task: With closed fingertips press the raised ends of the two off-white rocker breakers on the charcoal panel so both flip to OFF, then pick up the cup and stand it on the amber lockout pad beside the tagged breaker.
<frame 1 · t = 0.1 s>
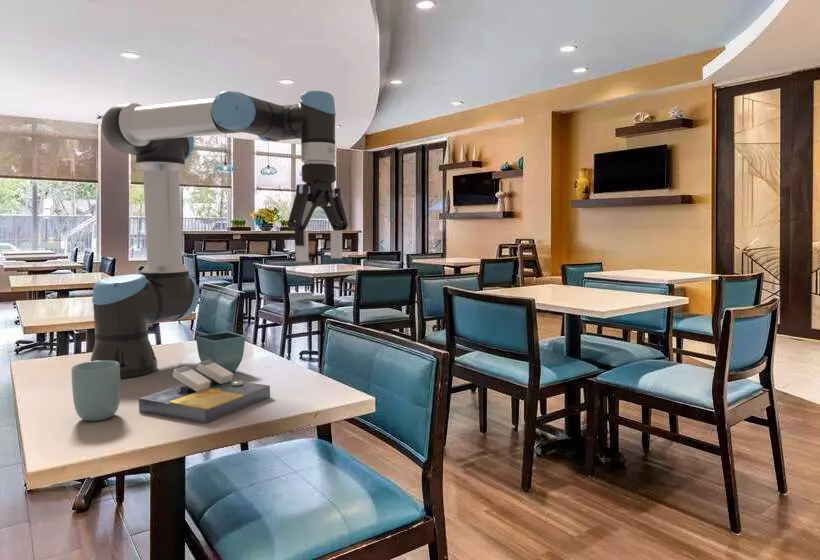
hand: (320, 259, 131), 28 cm above the table, fingers open, 13 cm apart
cup: (98, 418, 108), on the table
flower pot: (221, 372, 142), on the table
rocker 2: (191, 378, 117), point 5 cm above the table, hinge at 20.0°
rocker 1: (215, 371, 123), point 5 cm above the table, hinge at 20.0°
panel: (207, 403, 116), on the table
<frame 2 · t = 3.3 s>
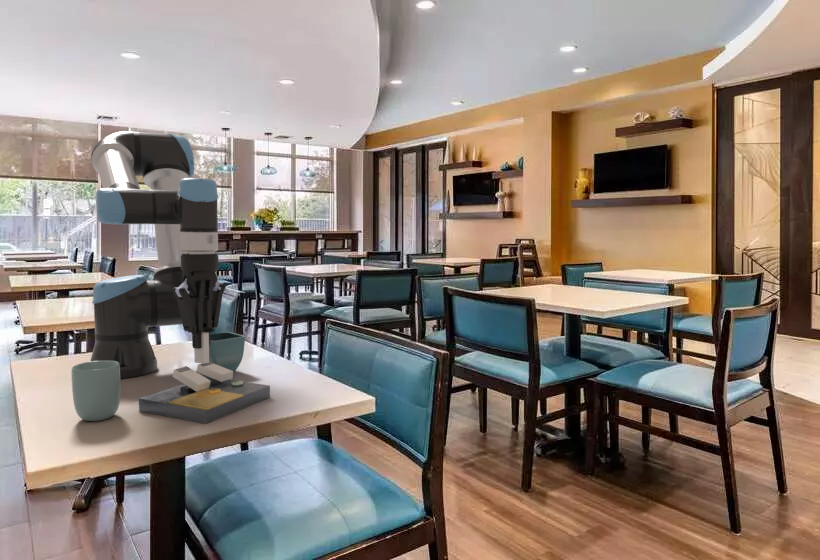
hand: (201, 362, 124), 6 cm above the table, fingers closed
rocker 1: (215, 371, 123), point 5 cm above the table, hinge at 11.1°, touching gripper
everything else where it was.
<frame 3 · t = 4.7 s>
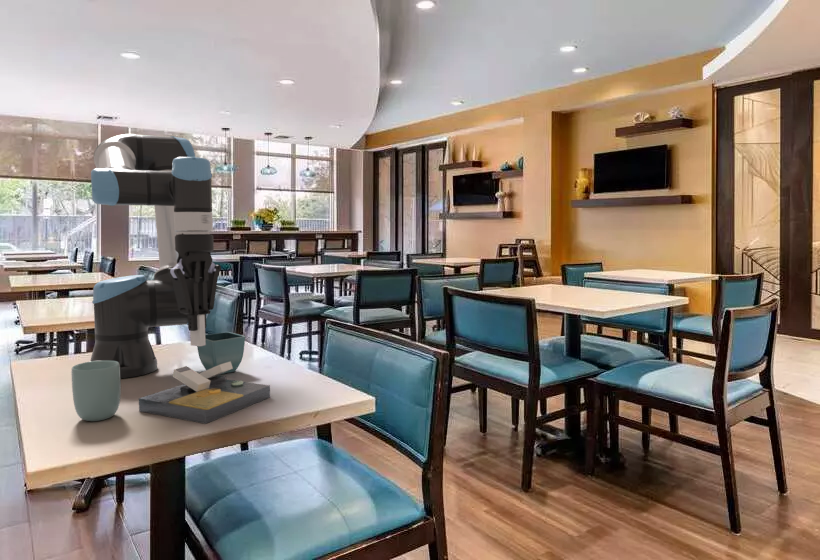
hand: (198, 345, 122), 10 cm above the table, fingers closed
rocker 1: (214, 371, 123), point 5 cm above the table, hinge at -23.6°
everything else where it was.
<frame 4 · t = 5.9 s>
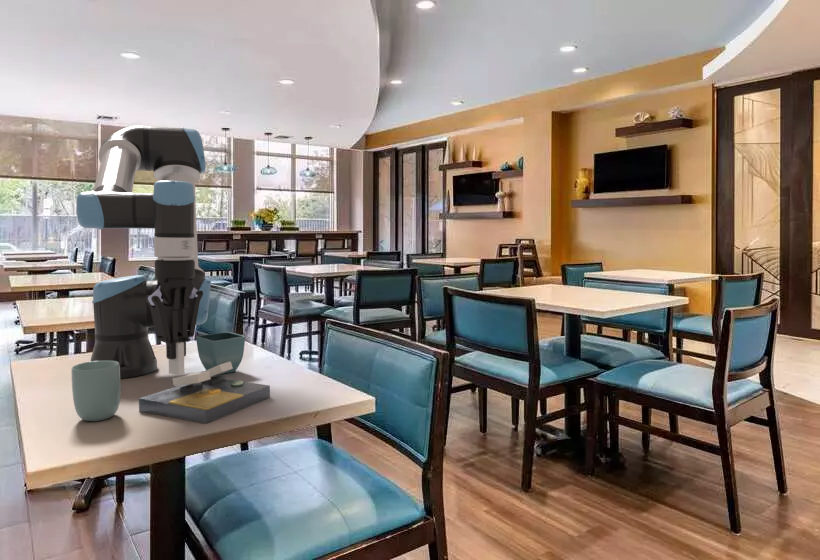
hand: (176, 373, 119), 5 cm above the table, fingers closed
rocker 2: (191, 378, 117), point 5 cm above the table, hinge at -12.8°, touching gripper
everything else where it was.
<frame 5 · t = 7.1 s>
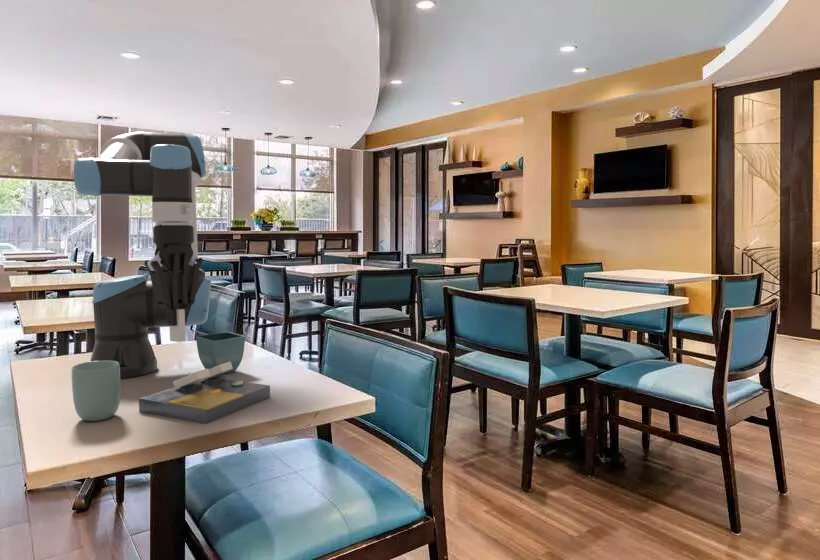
hand: (177, 340, 118), 12 cm above the table, fingers closed
rocker 2: (191, 378, 117), point 5 cm above the table, hinge at -22.9°
everything else where it was.
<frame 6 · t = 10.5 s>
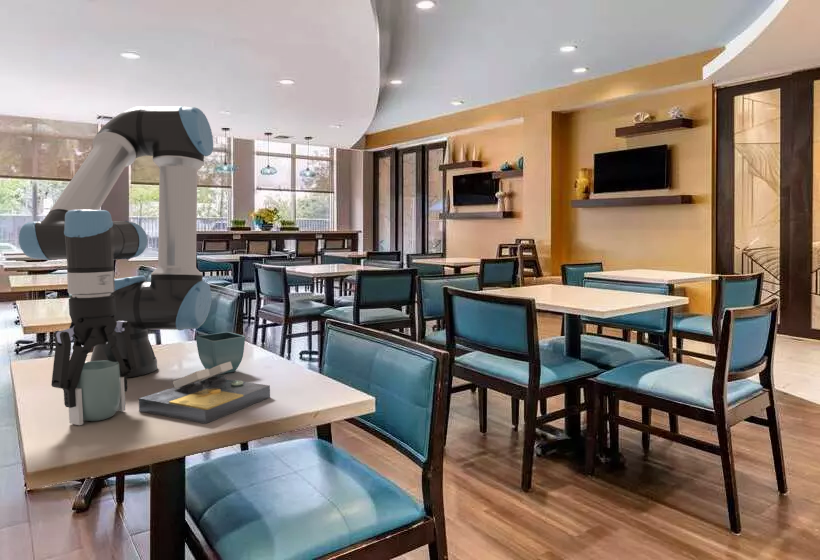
hand: (98, 416, 108), 0 cm above the table, fingers closed on cup, 8 cm apart
cup: (98, 418, 108), on the table, touching gripper
everything else where it was.
when the fingers open (4 cm above the table, at t = 15.6 s): cup drops 1 cm, resting on panel.
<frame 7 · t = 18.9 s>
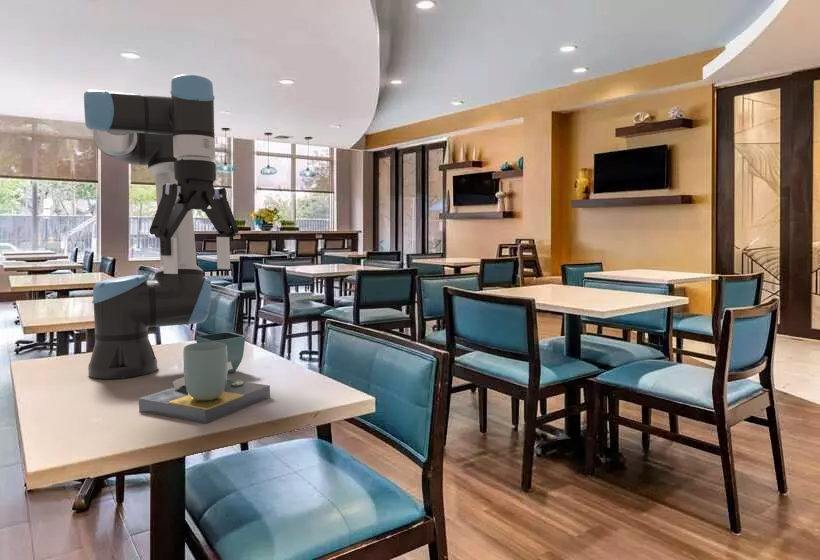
hand: (198, 271, 113), 27 cm above the table, fingers open, 13 cm apart
cup: (206, 398, 110), point 3 cm above the table, touching panel
everything else where it was.
at the end: rocker 2 at -23° (first picture: +20°); cup inside the target area (0.1 cm from its centre), point 2.7 cm above the table; cup tilted 1° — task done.
